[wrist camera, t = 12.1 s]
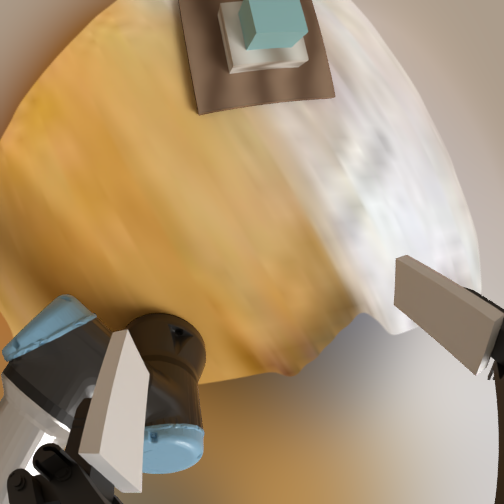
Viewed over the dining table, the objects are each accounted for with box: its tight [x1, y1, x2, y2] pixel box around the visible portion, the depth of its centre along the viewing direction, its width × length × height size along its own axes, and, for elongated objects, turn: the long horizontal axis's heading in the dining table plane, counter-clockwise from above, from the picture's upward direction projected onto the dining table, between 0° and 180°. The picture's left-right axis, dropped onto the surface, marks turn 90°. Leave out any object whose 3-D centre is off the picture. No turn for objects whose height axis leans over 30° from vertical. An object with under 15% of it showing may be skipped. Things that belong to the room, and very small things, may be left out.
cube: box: [238, 0, 308, 50], centre depth 27 cm, size 6×6×6 cm
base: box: [178, 0, 335, 115], centre depth 32 cm, size 20×20×6 cm
